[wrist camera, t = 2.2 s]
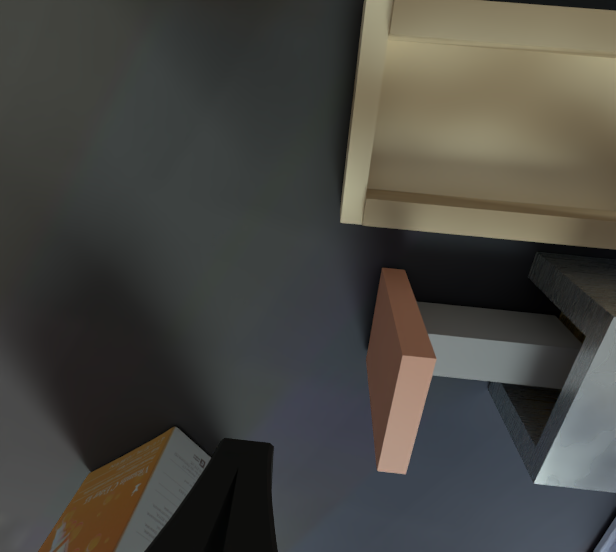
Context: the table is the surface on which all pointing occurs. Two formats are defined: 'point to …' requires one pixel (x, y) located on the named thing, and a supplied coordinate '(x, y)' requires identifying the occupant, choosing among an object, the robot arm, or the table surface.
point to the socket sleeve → (571, 383)
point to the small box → (129, 497)
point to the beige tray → (484, 121)
